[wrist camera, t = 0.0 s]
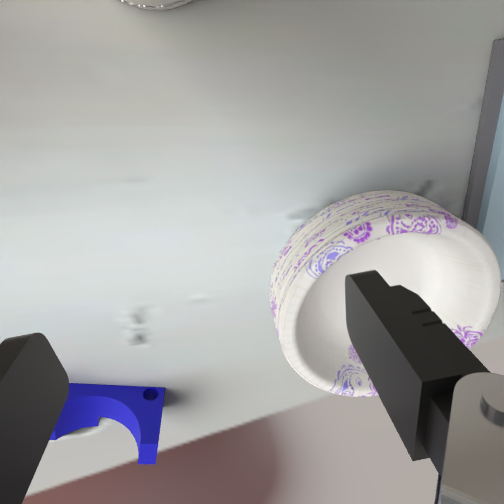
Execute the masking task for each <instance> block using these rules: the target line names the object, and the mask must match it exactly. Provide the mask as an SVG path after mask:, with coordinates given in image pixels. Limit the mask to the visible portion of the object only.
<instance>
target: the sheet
mask: <svg viewBox="0 0 504 504" xmlns="http://www.w3.org/2000/svg"><path fill="white" fill-rule="evenodd" d="M476 230H478V231H479V232H480V233H481V234H482V235H483V236H484V237H485V238H486V239H487V240H488V242H489V243H490V245H491V246H492V248H493V250H494V252H495V254H496V256H497V259H498V262H499V267H500V271H501V280H503V279H504V94H503V99H502V104H501V109H500V114H499V119H498V123H497V128H496V133H495V138H494V143H493V148H492V153H491V158H490V163H489V168H488V173H487V178H486V183H485V188H484V193H483V198H482V203H481V208H480V213H479V218H478V223H477V228H476Z"/></svg>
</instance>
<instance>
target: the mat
mask: <svg viewBox="0 0 504 504" xmlns="http://www.w3.org/2000/svg"><path fill="white" fill-rule="evenodd" d="M503 94H504V39H499V40H494V43H493V49H492V54H491V60H490V66H489V71H488V77H487V83H486V88H485V94H484V100H483V105H482V111H481V117H480V122H479V128H478V134H477V139H476V145H475V151H474V156H473V162H472V168H471V173H470V179H469V185H468V190H467V196H466V202H465V207H464V213H463V219H462V220H463V221H465V222H466V223H468V224H469V225H470V226H472V227H473V228H475V229H476V228H477V223H478V218H479V213H480V208H481V203H482V198H483V193H484V188H485V183H486V178H487V173H488V168H489V163H490V158H491V153H492V148H493V143H494V138H495V133H496V128H497V123H498V119H499V114H500V109H501V104H502V99H503ZM501 282H504V279H503V280H501Z"/></svg>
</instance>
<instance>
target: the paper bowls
mask: <svg viewBox="0 0 504 504" xmlns="http://www.w3.org/2000/svg"><path fill="white" fill-rule="evenodd" d="M371 270H376V271H378V272H379V274H380V275H381V276H382V277H383V278H384V280H385V281H386V282H387V283H388V284H389V286H395V285H401V286H403V287H405V288H407V289H409V290H411V291H413V292H414V293H416V294H418V295H419V296H420V297H421V298H422V299H423V300H424V301H425V302H426V303H427V305H428V306H429V307H430V308H431V311H434V312H435V313H436V314H437V315H438V316H439V318H440V319H441V320H442V323H445V324H446V325H447V326H448V327H449V328H450V329H451V331H452V332H453V333H454V334H455V335H456V336H457V337H458V338H459V339H460V340H461V341H462V342H463V344H464V345H465V346H466V347H467V348H468V349H469V350H470V349H471V348H472V347H473V346H474V344H475V343H476V342H477V341H478V340H479V339H480V337H481V336H482V334H483V333H484V331H485V330H486V328H487V327H488V325H489V323H490V321H491V319H492V317H493V315H494V313H495V310H496V307H497V304H498V301H499V297H500V292H501V271H500V267H499V262H498V259H497V256H496V254H495V252H494V250H493V248H492V246H491V245H490V243H489V242H488V240H487V239H486V238H485V237H484V236H483V235H482V234H481V233H480V232H479V231H478V230H476V229H475V228H473V227H472V226H470V225H469V224H468V223H466V222H465V221H463V220H461V219H460V218H458V217H456V216H454V215H453V214H451V213H449V212H448V211H447V210H445V209H444V208H442V207H441V206H439V205H438V204H436V203H435V202H432V201H430V200H428V199H426V198H424V197H421V196H419V195H416V194H413V193H409V192H403V191H392V190H379V191H370V192H365V193H360V194H356V195H352V196H350V197H348V198H345V199H342V200H340V201H338V202H335V203H333V204H332V205H330V206H328V207H326V208H324V209H323V210H322V211H320V212H318V213H316V215H315V216H314V217H311V218H310V219H309V220H308V221H307V222H305V223H304V224H303V225H302V226H301V227H300V228H298V229H297V230H296V232H295V233H294V234H293V235H292V236H291V237H290V239H289V240H288V241H287V242H286V244H285V246H284V247H283V249H282V250H281V251H280V254H279V256H278V257H277V260H276V262H275V265H274V266H273V271H272V276H271V281H270V303H271V309H272V314H273V317H274V322H275V326H276V329H277V333H278V336H279V338H280V343H281V347H282V350H283V352H284V354H285V357H286V359H287V360H288V362H289V363H290V365H291V366H292V368H293V369H294V370H295V371H296V372H297V373H298V374H299V375H300V376H301V377H302V378H303V379H305V380H306V381H307V382H309V383H310V384H312V385H314V386H316V387H318V388H320V389H322V390H325V391H328V392H331V393H334V394H339V395H344V396H355V397H368V396H378V393H377V391H376V389H375V387H374V385H373V383H372V381H371V379H370V378H369V376H368V374H367V372H366V370H365V368H364V366H363V364H362V362H361V360H360V358H359V356H358V354H357V352H356V350H355V349H354V347H353V345H352V343H351V340H350V337H349V334H348V330H347V325H346V305H345V277H346V275H349V274H355V273H360V272H365V271H371Z"/></svg>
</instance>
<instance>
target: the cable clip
mask: <svg viewBox="0 0 504 504" xmlns="http://www.w3.org/2000/svg"><path fill="white" fill-rule="evenodd" d="M164 393H165V388H160V387H139V386H119V385H99V384H78V383H69V393H68V397H67V400H66V402H65V404H64V407H63V409H62V411H61V414H60V416H59V418H58V421H57V423H56V425H55V428H54V430H53V432H52V435H51V437H50V439H49V440H57V439H58V438H60V437H61V436H63V435H65V434H67V433H69V432H71V431H74V430H77V429H80V428H84V427H92V426H98V425H99V421H100V418H101V417H106V418H110V419H113V420H116V421H118V422H120V423H122V424H123V425H124V426H126V427H127V428H128V429H129V430H130V431H131V433H132V434H133V436H134V438H135V440H136V442H137V446H138V452H139V459H138V464H155V463H156V456H157V448H158V441H159V433H160V425H161V417H162V409H163V401H164Z"/></svg>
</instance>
